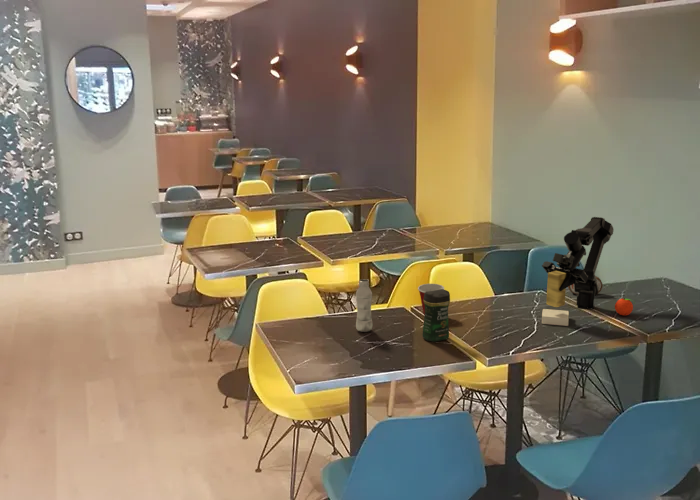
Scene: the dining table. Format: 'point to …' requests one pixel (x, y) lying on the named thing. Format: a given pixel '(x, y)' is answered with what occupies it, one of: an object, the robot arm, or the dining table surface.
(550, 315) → the plinth
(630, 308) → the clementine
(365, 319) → the plastic bottle
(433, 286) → the plastic cup
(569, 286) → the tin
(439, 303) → the coffee jar
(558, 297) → the pillar block
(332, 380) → the dining table surface
